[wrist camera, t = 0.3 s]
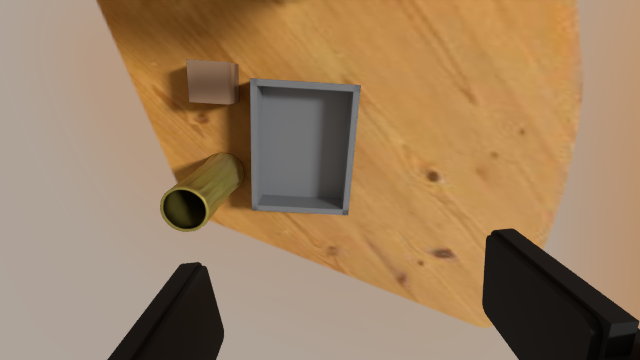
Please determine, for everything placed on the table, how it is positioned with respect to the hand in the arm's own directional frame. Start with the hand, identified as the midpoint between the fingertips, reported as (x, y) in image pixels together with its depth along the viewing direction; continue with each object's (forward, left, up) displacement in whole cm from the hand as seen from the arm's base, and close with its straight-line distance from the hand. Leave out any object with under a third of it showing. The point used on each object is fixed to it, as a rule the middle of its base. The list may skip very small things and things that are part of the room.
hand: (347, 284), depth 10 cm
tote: (+2, -3, -35) cm, 35 cm away
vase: (+7, -15, -35) cm, 39 cm away
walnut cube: (-6, -15, -35) cm, 39 cm away
